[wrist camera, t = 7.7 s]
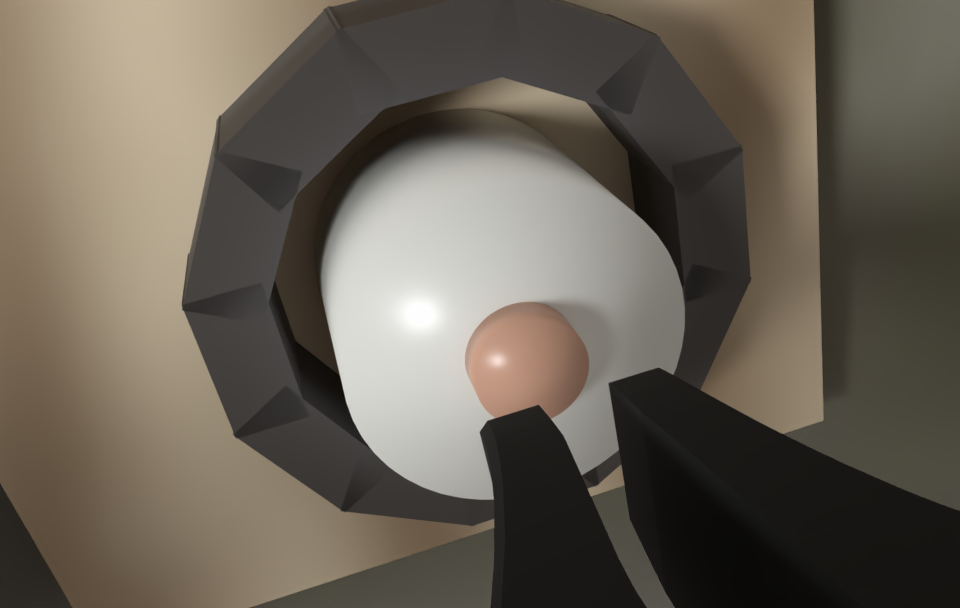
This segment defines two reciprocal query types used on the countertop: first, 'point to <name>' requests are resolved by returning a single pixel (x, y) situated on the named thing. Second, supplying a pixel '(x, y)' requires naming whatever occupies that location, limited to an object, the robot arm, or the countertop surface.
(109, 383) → the board
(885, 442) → the countertop surface
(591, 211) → the cap
